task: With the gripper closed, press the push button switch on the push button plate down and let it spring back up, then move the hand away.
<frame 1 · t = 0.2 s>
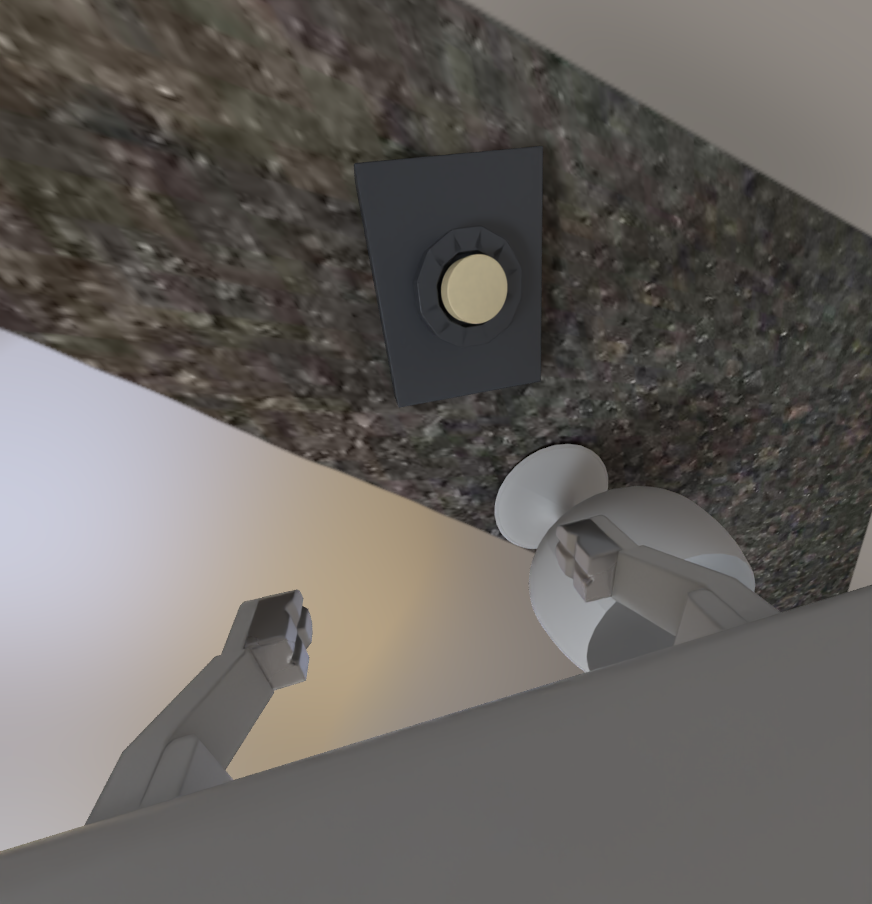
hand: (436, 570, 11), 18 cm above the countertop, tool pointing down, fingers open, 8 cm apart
push button switch: (473, 290, 20), point 5 cm above the countertop, slide at 0.1 cm
chalice: (549, 496, 35), on the countertop
push button plate: (453, 291, 25), on the countertop
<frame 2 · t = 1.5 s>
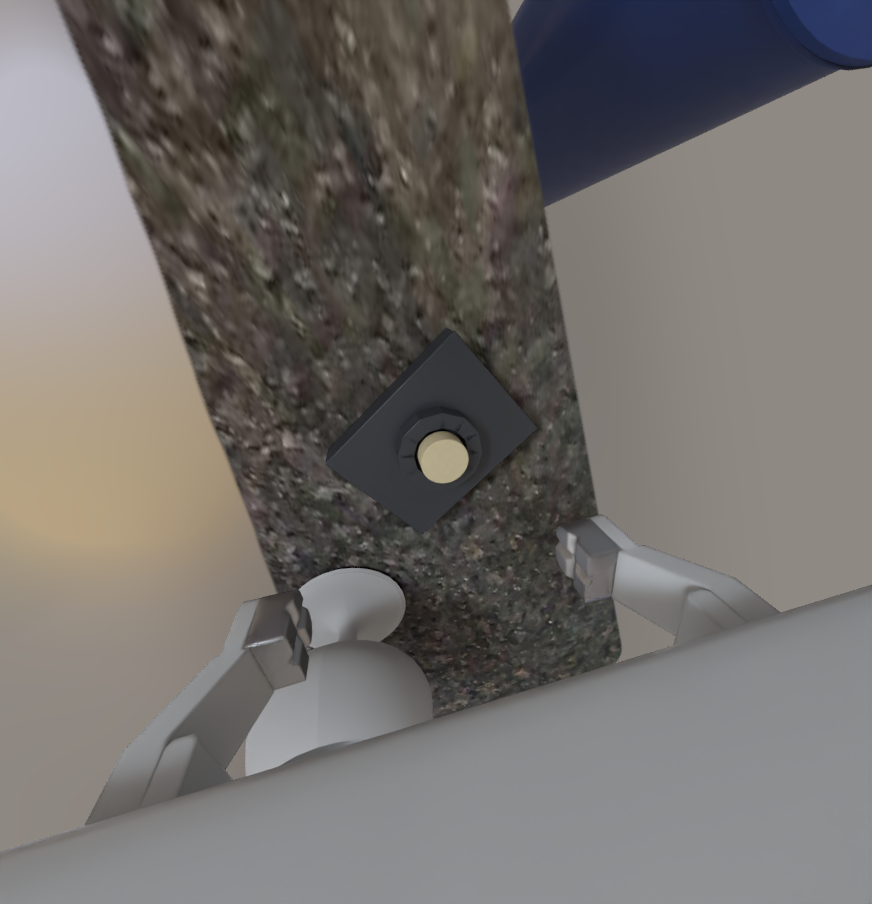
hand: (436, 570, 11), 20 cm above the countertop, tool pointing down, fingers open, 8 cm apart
push button switch: (442, 457, 26), point 5 cm above the countertop, slide at 0.1 cm
chalice: (348, 607, 37), on the countertop
push button plate: (430, 433, 30), on the countertop
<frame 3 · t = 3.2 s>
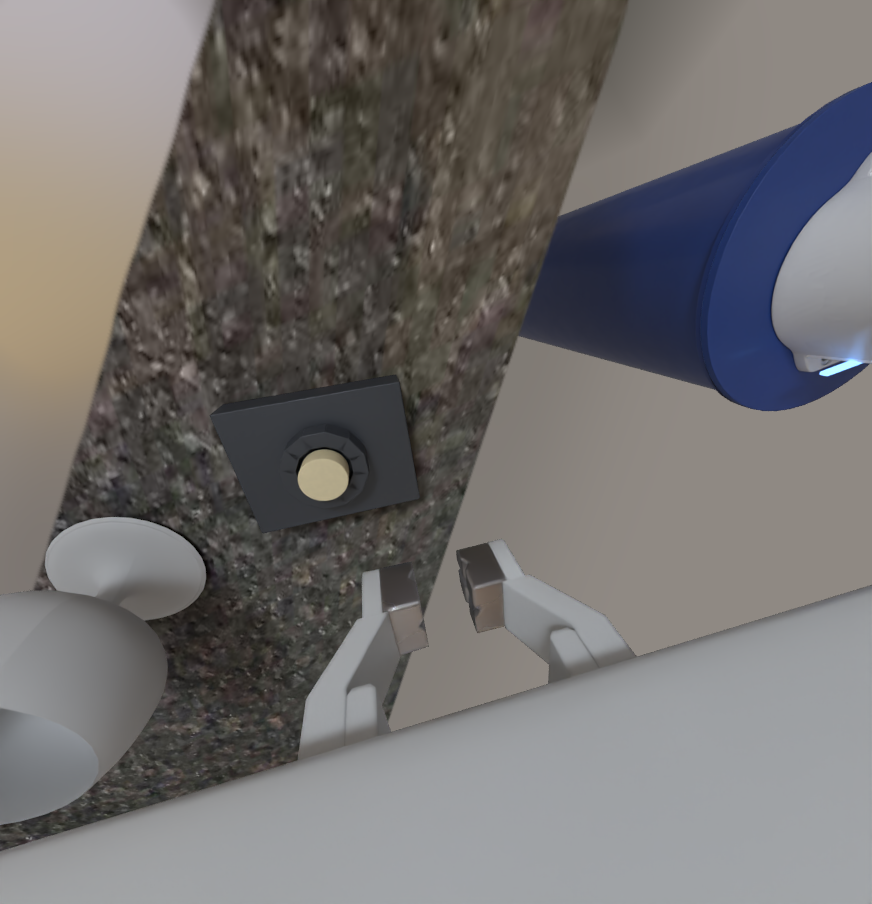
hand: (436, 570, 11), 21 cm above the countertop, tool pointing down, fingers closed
push button switch: (324, 475, 26), point 5 cm above the countertop, slide at 0.1 cm
chalice: (134, 567, 32), on the countertop
push button plate: (329, 448, 30), on the countertop
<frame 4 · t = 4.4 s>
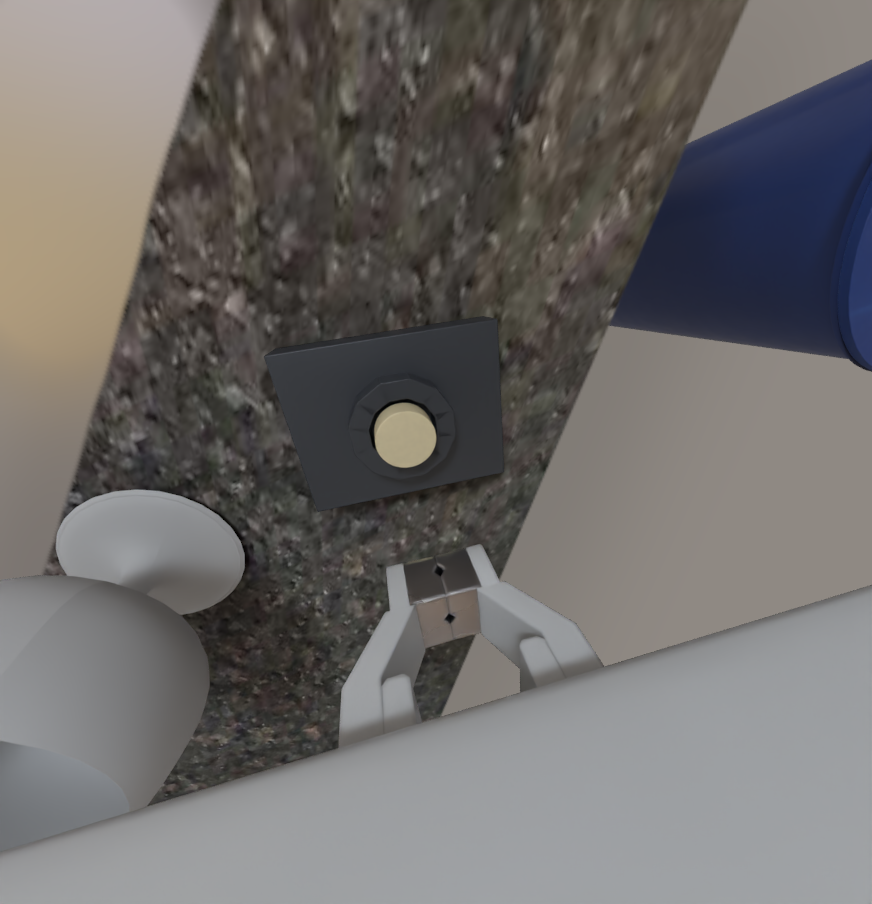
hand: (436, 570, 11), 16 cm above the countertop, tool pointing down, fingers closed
push button switch: (404, 435, 21), point 5 cm above the countertop, slide at 0.1 cm
chalice: (161, 553, 26), on the countertop
push button plate: (397, 410, 25), on the countertop
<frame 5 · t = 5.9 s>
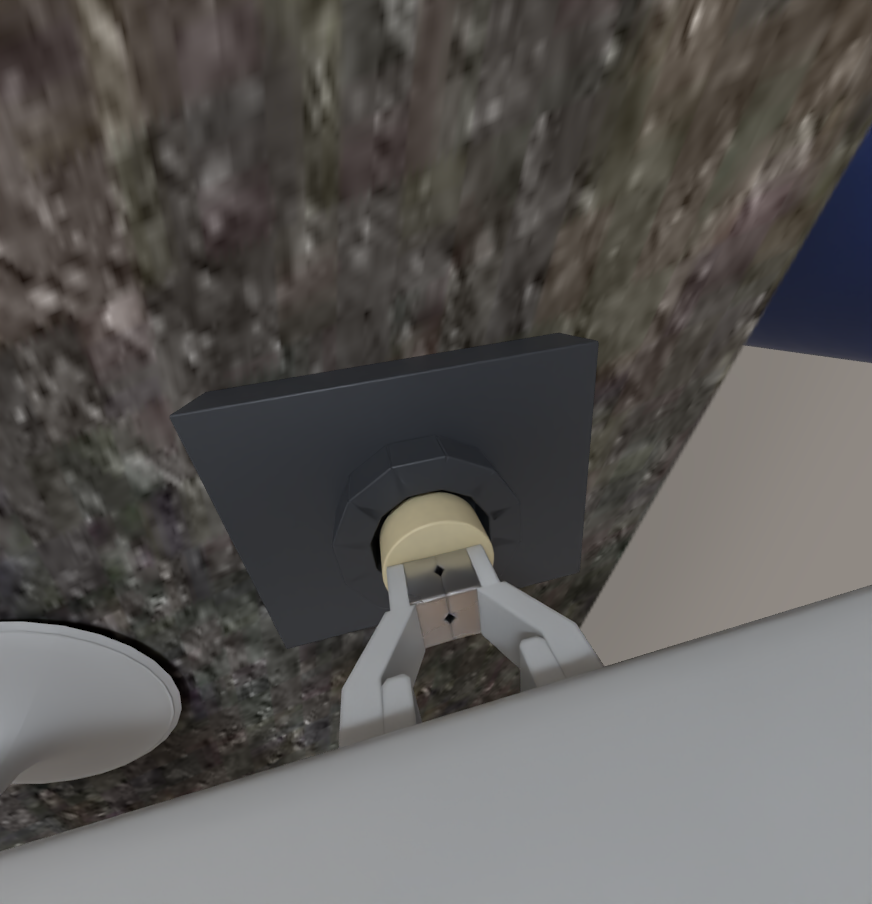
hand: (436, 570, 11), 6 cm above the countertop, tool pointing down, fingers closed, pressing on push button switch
push button switch: (434, 550, 11), point 5 cm above the countertop, slide at 0.0 cm, touching gripper
chalice: (46, 697, 17), on the countertop
push button plate: (414, 480, 16), on the countertop
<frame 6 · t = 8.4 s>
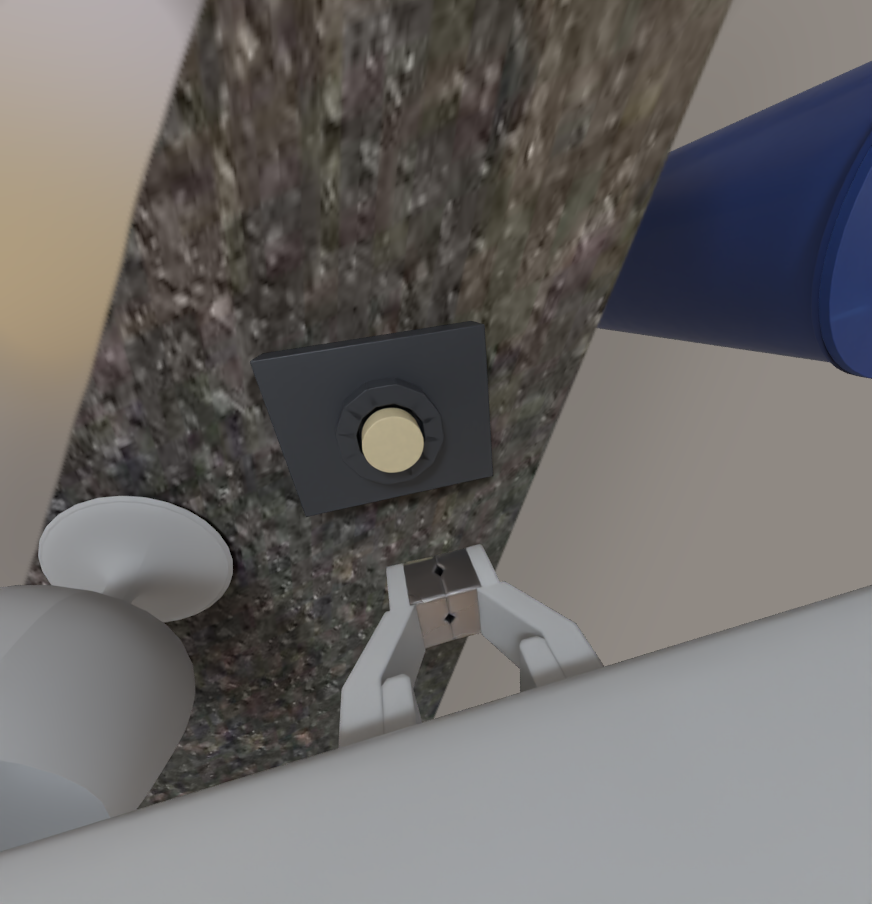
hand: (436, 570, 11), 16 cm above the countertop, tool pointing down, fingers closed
push button switch: (392, 440, 21), point 5 cm above the countertop, slide at 0.1 cm
chalice: (147, 559, 26), on the countertop
push button plate: (386, 414, 25), on the countertop
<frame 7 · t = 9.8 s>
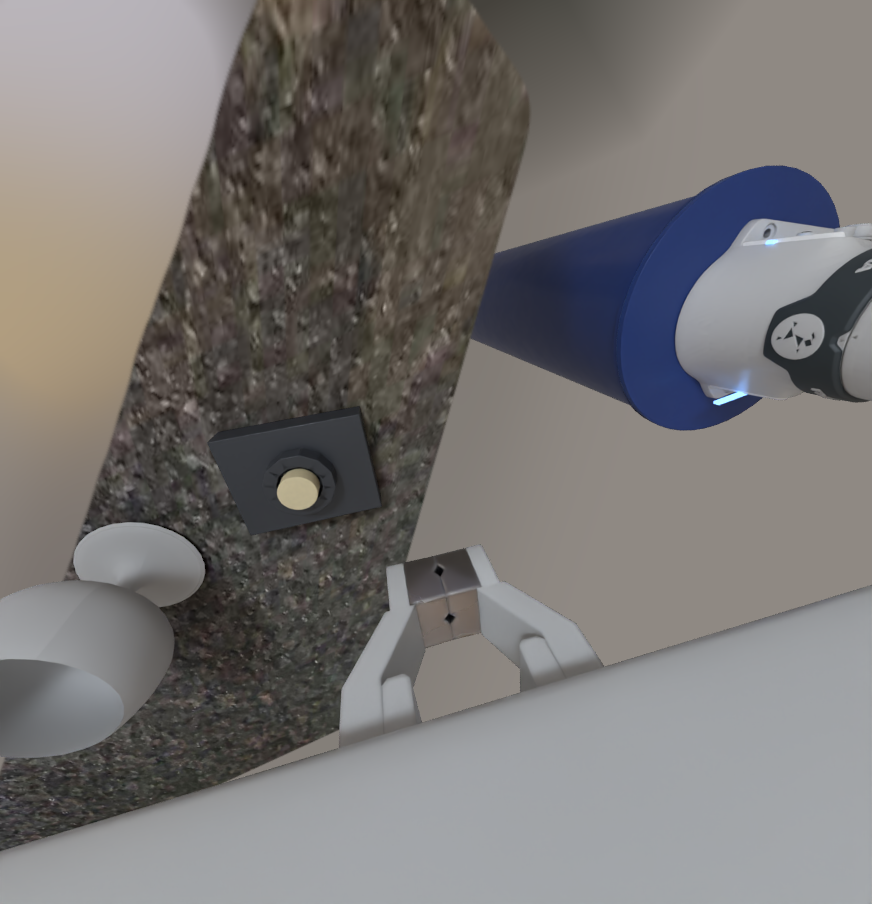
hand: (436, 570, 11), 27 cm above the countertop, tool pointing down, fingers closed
push button switch: (299, 489, 33), point 5 cm above the countertop, slide at 0.1 cm
chalice: (145, 563, 38), on the countertop
push button plate: (306, 465, 37), on the countertop
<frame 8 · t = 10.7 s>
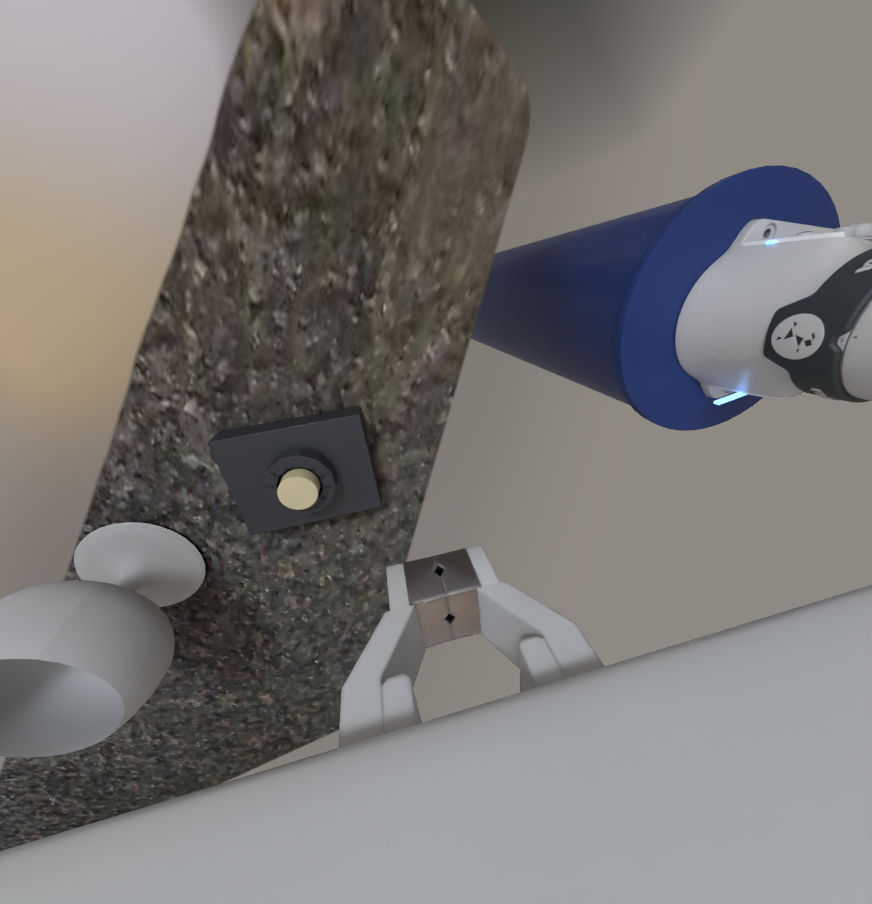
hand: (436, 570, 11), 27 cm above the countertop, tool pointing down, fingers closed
push button switch: (299, 489, 33), point 5 cm above the countertop, slide at 0.1 cm
chalice: (145, 563, 38), on the countertop
push button plate: (306, 465, 37), on the countertop
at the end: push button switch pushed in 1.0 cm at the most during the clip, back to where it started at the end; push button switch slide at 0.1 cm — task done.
